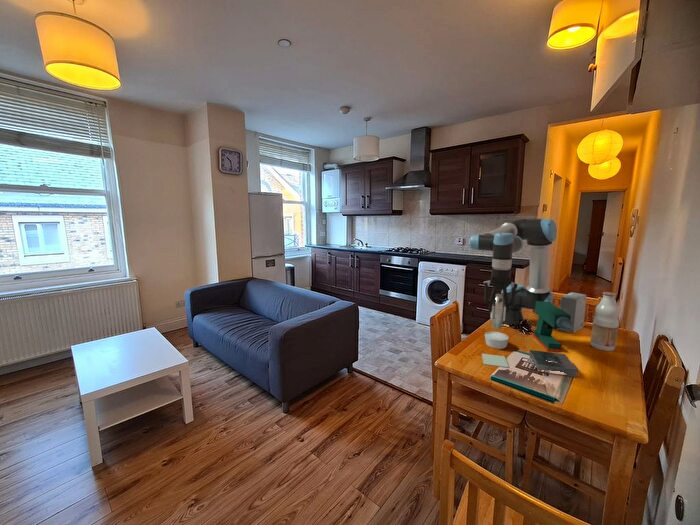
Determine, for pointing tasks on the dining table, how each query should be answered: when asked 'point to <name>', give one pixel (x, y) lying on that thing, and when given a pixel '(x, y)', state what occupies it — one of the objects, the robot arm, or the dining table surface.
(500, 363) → the rubber mat
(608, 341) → the fruit juice
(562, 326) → the power tool
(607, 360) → the dining table surface
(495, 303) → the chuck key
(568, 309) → the hard drive box
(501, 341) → the ramekin
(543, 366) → the plate
